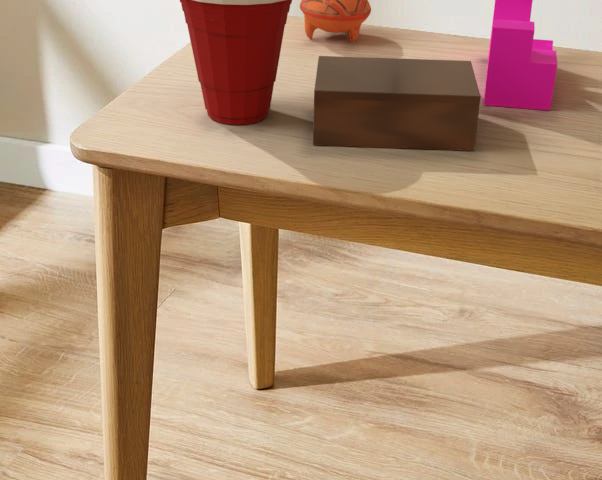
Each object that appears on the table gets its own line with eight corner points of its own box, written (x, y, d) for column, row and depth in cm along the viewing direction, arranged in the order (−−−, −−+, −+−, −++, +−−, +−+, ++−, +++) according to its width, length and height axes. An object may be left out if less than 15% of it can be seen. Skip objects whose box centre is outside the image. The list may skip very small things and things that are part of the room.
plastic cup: (304, 96, 95) (306, -31, 89) (286, 139, 86) (287, 2, 80) (195, 88, 96) (190, -37, 90) (166, 130, 87) (158, -5, 81)
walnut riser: (465, 112, 92) (471, 60, 89) (474, 151, 85) (480, 96, 82) (317, 106, 93) (318, 55, 90) (312, 145, 85) (314, 90, 82)
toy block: (549, 110, 93) (562, 32, 89) (483, 104, 94) (493, 27, 90) (547, 59, 105) (558, -11, 101) (488, 55, 106) (497, -15, 102)
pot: (300, 20, 114) (315, -37, 111) (363, 41, 114) (380, -16, 111) (286, 39, 108) (302, -21, 104) (353, 61, 108) (371, 1, 104)
